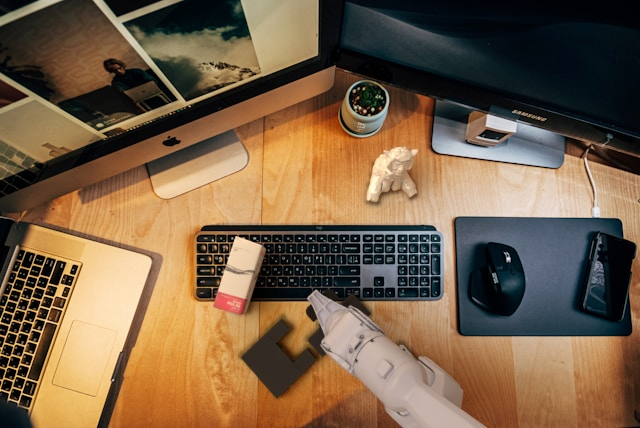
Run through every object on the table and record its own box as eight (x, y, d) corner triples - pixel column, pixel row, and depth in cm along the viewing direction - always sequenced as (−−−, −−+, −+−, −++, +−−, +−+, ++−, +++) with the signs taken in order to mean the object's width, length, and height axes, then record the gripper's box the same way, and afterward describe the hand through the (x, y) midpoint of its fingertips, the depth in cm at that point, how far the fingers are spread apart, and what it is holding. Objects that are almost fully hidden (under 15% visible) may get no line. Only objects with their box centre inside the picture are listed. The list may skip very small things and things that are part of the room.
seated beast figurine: (366, 204, 81) (376, 191, 69) (358, 160, 82) (367, 139, 70) (416, 197, 81) (434, 182, 70) (407, 153, 83) (424, 130, 71)
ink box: (240, 316, 69) (263, 244, 71) (210, 307, 69) (234, 235, 71) (247, 312, 77) (267, 248, 79) (220, 304, 77) (241, 240, 79)
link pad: (368, 312, 78) (371, 313, 75) (323, 356, 76) (324, 359, 73) (351, 293, 78) (352, 293, 75) (305, 336, 77) (305, 338, 74)
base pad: (316, 357, 76) (316, 360, 73) (277, 394, 75) (276, 399, 72) (281, 318, 77) (280, 319, 74) (243, 354, 76) (240, 357, 73)
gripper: (291, 313, 63) (294, 308, 76) (361, 391, 61) (351, 372, 75) (327, 279, 64) (323, 280, 77) (397, 355, 62) (380, 343, 76)
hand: (339, 324), depth 76 cm, fingers open, 7 cm apart
